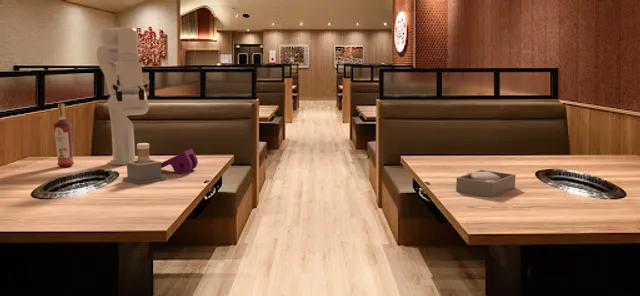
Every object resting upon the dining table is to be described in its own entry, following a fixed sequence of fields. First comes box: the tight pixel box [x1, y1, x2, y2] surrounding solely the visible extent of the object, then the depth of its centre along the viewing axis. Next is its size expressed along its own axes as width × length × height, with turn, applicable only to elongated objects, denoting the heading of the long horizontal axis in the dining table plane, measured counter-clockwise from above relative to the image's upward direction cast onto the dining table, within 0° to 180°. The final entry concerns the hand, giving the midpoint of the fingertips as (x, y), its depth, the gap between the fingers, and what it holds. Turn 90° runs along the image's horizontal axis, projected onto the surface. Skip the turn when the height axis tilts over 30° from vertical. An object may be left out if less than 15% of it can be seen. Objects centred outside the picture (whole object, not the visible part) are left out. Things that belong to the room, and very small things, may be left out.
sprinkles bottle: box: [136, 142, 151, 164], centre depth 202 cm, size 5×5×13 cm
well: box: [122, 158, 167, 186], centre depth 203 cm, size 12×12×7 cm
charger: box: [467, 170, 500, 182], centre depth 188 cm, size 5×9×15 cm
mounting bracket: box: [161, 148, 199, 175], centre depth 220 cm, size 10×8×18 cm
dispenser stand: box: [455, 169, 517, 198], centre depth 188 cm, size 14×20×5 cm
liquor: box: [53, 103, 75, 168], centre depth 229 cm, size 7×7×28 cm
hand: (130, 100), depth 214 cm, fingers open, 9 cm apart
